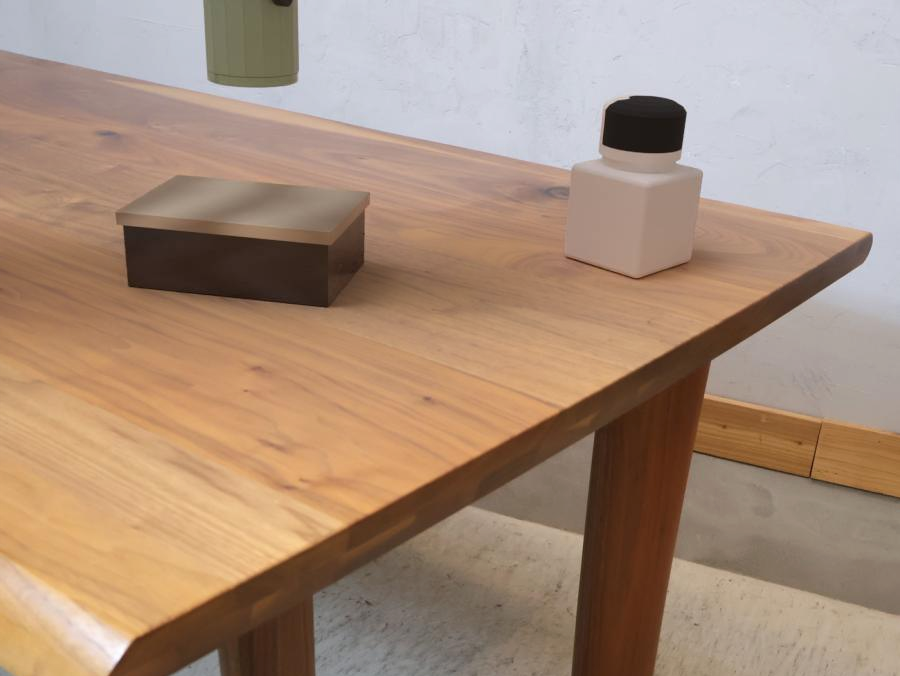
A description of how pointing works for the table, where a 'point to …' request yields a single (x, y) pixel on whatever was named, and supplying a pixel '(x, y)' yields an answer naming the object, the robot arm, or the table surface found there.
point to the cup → (251, 43)
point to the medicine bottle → (635, 191)
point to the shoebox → (245, 239)
